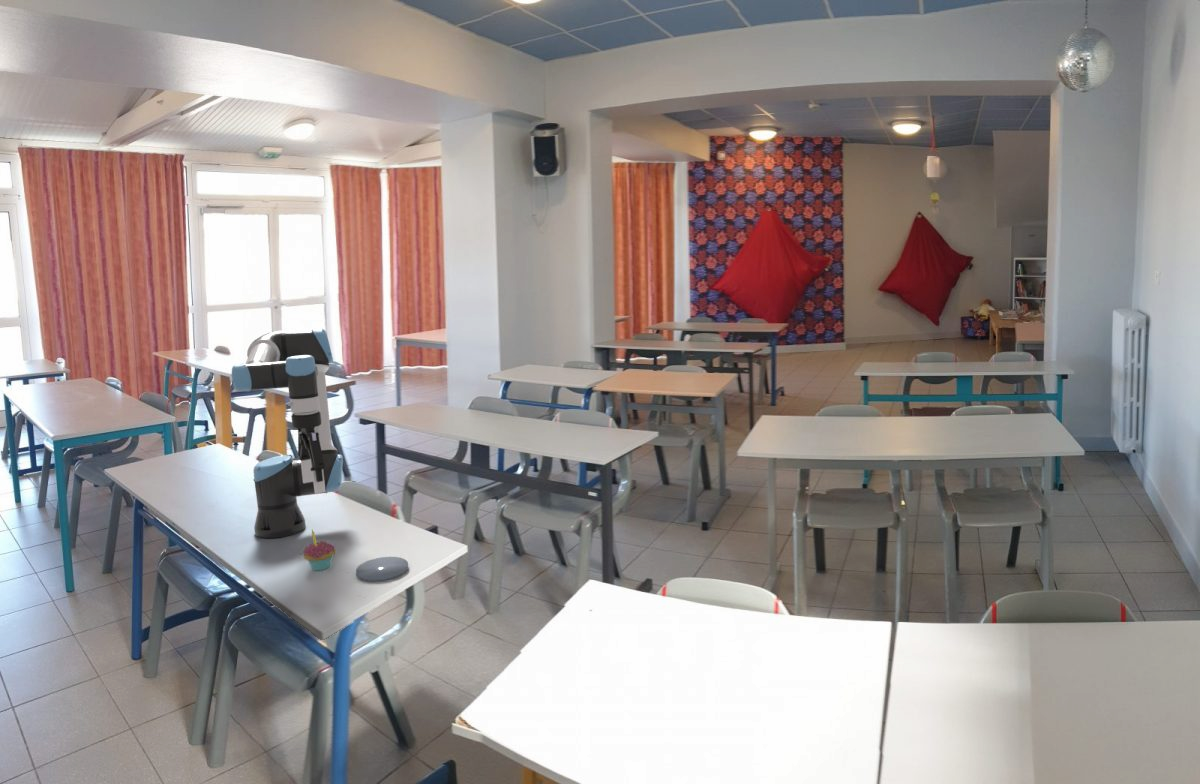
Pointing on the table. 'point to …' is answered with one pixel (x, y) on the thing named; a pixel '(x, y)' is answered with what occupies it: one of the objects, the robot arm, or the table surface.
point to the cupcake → (319, 554)
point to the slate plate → (382, 569)
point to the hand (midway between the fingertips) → (314, 487)
